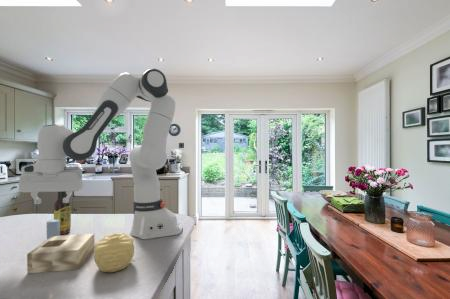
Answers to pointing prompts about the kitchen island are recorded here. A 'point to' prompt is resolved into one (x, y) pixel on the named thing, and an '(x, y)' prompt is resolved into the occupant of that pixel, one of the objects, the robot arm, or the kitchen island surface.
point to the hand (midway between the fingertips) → (52, 203)
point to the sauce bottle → (63, 213)
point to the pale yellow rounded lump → (114, 252)
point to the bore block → (60, 253)
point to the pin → (53, 228)
